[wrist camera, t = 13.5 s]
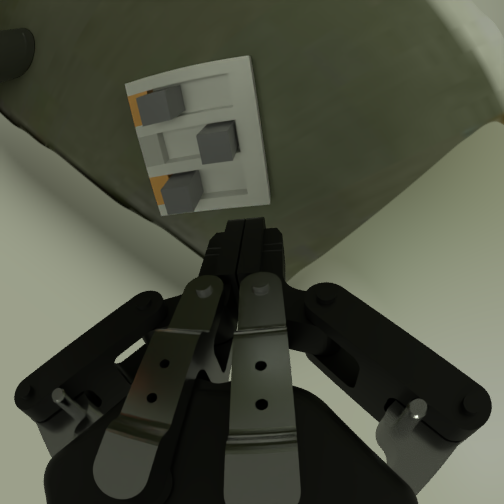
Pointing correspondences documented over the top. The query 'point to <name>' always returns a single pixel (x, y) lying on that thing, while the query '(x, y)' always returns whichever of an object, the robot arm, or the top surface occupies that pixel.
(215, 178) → the switch bank
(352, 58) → the top surface
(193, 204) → the tab
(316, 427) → the robot arm
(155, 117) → the tab
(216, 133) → the tab
